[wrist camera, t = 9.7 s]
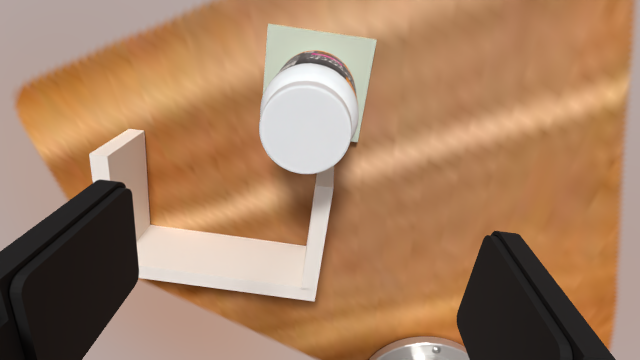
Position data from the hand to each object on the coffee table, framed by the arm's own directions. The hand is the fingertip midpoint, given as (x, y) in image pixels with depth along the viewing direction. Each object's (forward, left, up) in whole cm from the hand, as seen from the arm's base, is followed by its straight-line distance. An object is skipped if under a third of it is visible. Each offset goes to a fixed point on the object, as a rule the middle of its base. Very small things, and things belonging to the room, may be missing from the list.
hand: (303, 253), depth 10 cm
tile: (0, +1, -21) cm, 21 cm away
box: (-10, +7, -21) cm, 24 cm away
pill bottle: (0, +1, -20) cm, 20 cm away
